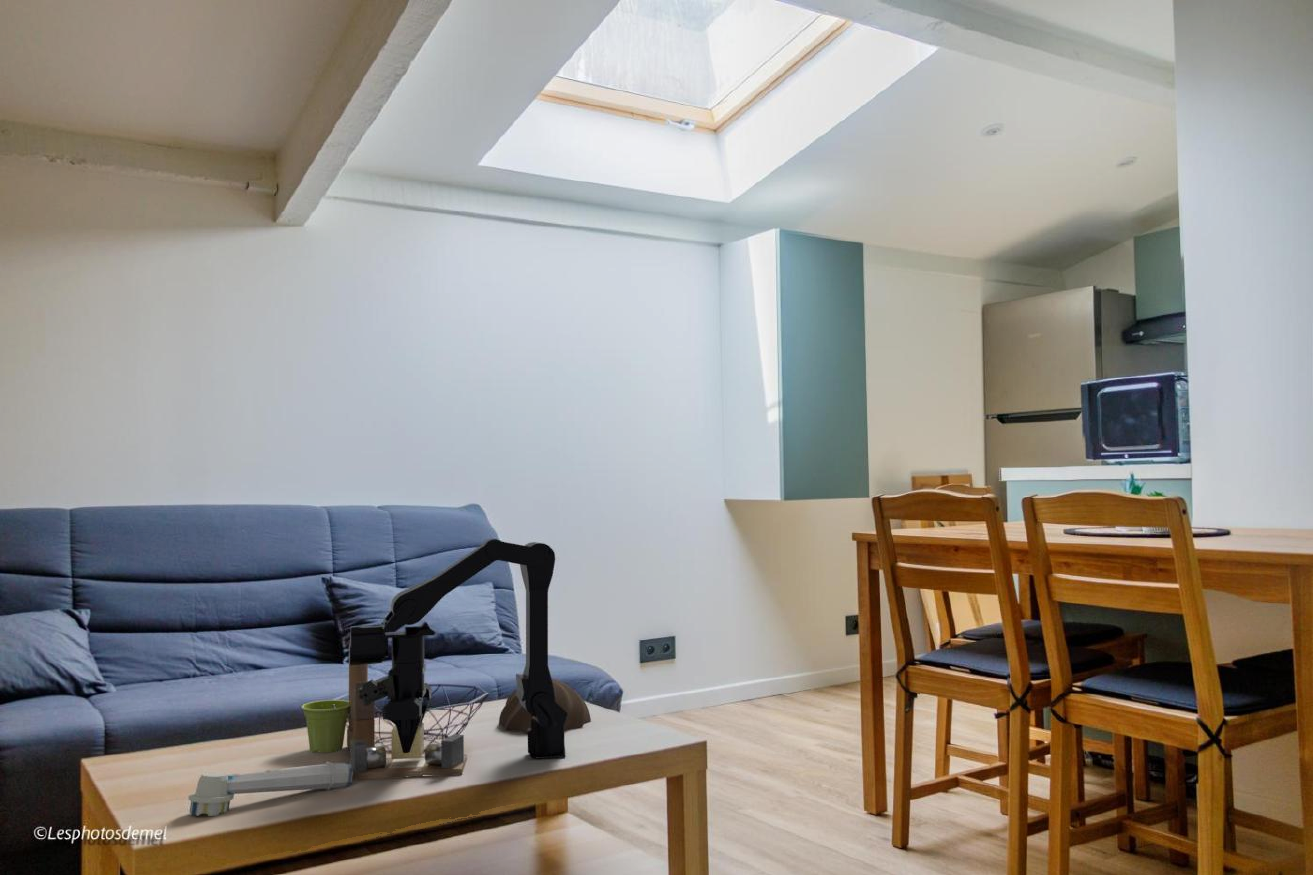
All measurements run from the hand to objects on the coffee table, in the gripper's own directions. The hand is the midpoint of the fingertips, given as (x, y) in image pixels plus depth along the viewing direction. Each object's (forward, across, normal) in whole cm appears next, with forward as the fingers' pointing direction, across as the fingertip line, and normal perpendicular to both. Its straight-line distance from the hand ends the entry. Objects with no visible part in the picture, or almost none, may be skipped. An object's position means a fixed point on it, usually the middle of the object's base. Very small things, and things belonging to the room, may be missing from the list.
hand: (408, 749), depth 173 cm
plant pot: (+4, -18, -18) cm, 25 cm away
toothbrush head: (+4, +15, -19) cm, 25 cm away
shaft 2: (+3, +2, +6) cm, 7 cm away
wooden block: (+4, -14, -11) cm, 19 cm away
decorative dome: (+4, -32, +24) cm, 41 cm away
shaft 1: (+2, +2, -7) cm, 7 cm away
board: (+4, 0, 0) cm, 4 cm away
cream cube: (+1, 0, 0) cm, 1 cm away
